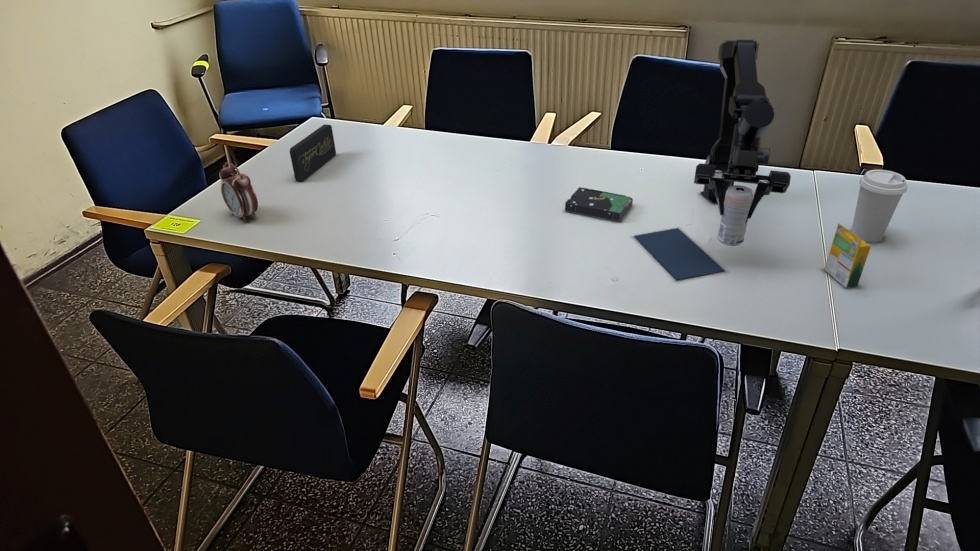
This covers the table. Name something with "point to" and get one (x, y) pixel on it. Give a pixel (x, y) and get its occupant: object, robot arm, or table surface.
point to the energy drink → (735, 215)
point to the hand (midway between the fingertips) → (735, 216)
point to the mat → (678, 254)
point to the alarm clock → (238, 192)
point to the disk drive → (599, 204)
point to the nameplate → (312, 152)
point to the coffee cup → (877, 203)
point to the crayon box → (847, 257)
